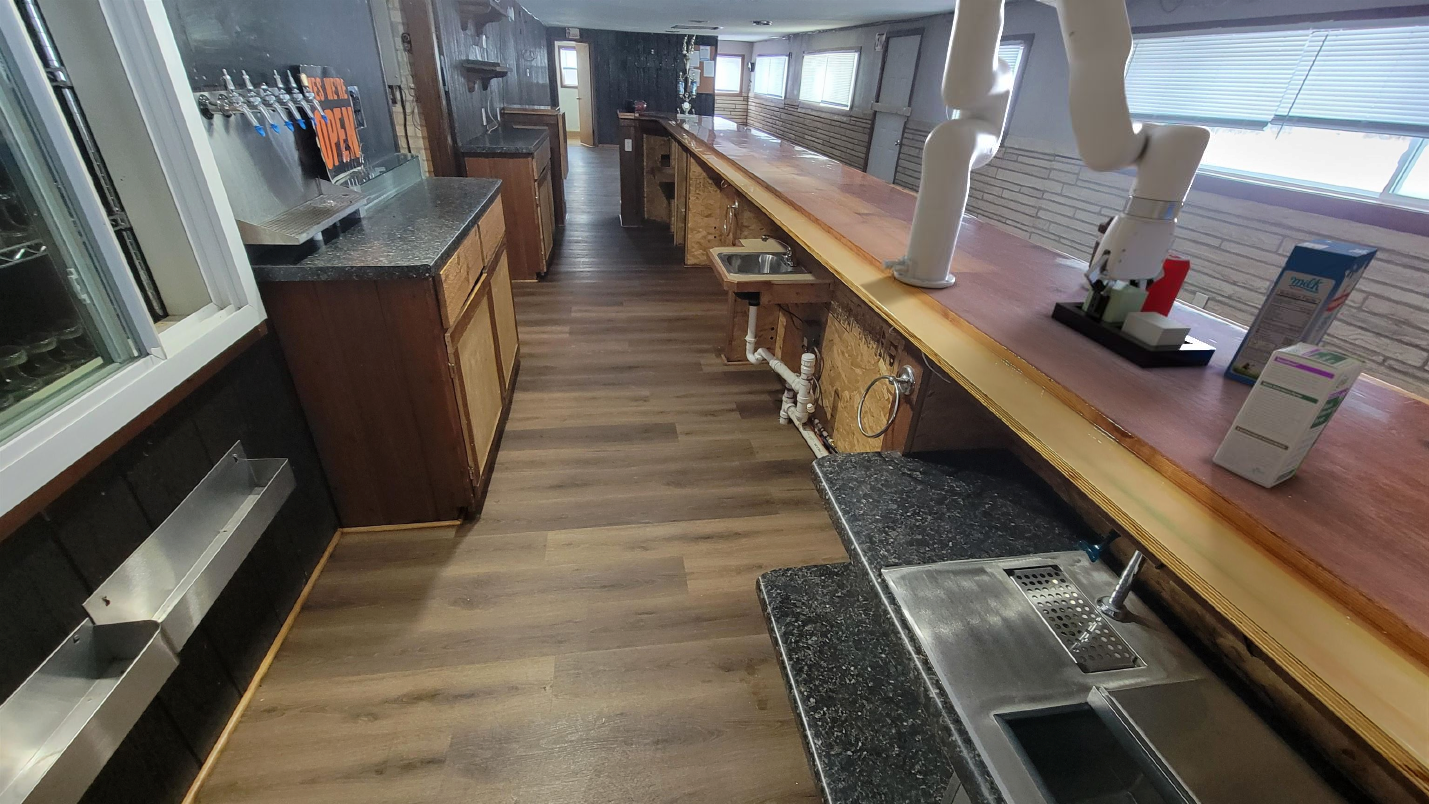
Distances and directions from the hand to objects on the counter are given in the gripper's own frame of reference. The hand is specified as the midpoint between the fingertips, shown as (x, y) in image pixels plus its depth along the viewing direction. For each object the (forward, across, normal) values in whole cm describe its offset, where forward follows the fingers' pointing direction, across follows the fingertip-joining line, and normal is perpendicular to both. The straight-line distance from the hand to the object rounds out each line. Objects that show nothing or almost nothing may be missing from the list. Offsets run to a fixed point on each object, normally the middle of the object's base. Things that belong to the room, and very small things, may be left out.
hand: (1108, 313), depth 100 cm
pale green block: (0, 0, 0) cm, 0 cm away
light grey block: (+3, 0, +10) cm, 10 cm away
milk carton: (+3, -11, +20) cm, 23 cm away
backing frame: (+3, 0, +5) cm, 6 cm away
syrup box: (+3, +15, +41) cm, 44 cm away
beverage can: (+3, -14, -5) cm, 15 cm away
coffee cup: (+3, -18, -21) cm, 28 cm away
